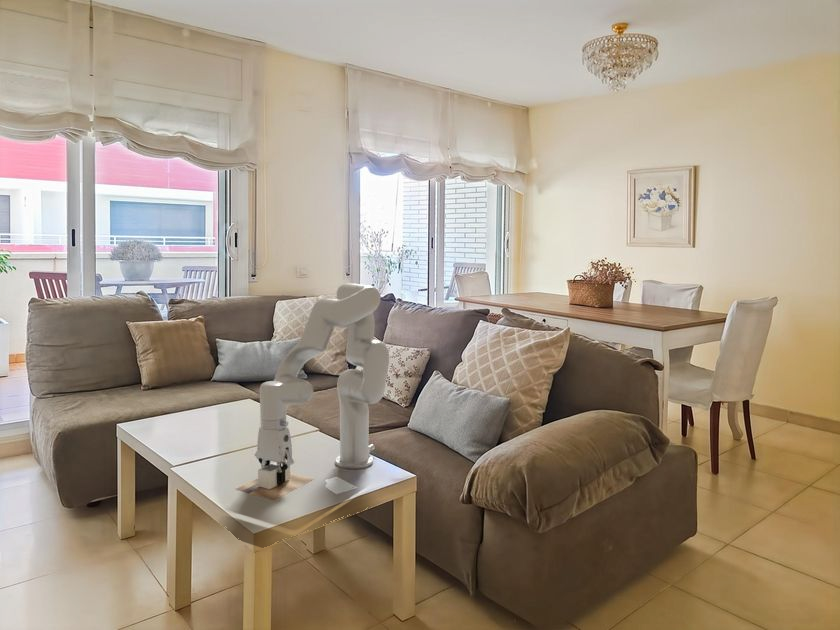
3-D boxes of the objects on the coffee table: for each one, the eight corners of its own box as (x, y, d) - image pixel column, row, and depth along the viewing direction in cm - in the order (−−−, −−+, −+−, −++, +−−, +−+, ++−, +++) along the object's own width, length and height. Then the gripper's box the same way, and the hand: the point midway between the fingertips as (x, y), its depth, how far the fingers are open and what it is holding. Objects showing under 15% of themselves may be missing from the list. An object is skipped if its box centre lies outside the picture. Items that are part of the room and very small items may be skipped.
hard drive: (359, 487, 183) (336, 474, 193) (335, 494, 178) (313, 481, 188) (359, 492, 184) (336, 479, 193) (335, 499, 178) (313, 486, 188)
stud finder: (278, 475, 190) (278, 459, 190) (290, 478, 188) (289, 462, 188) (258, 486, 182) (257, 468, 182) (269, 489, 180) (269, 471, 180)
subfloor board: (277, 472, 197) (277, 469, 196) (314, 482, 189) (314, 478, 189) (235, 492, 181) (235, 489, 181) (274, 503, 174) (274, 500, 174)
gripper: (304, 424, 182) (304, 483, 185) (260, 415, 190) (261, 472, 193) (287, 430, 176) (288, 492, 178) (243, 421, 184) (244, 480, 186)
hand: (274, 481), depth 185 cm, fingers closed on stud finder, 4 cm apart
